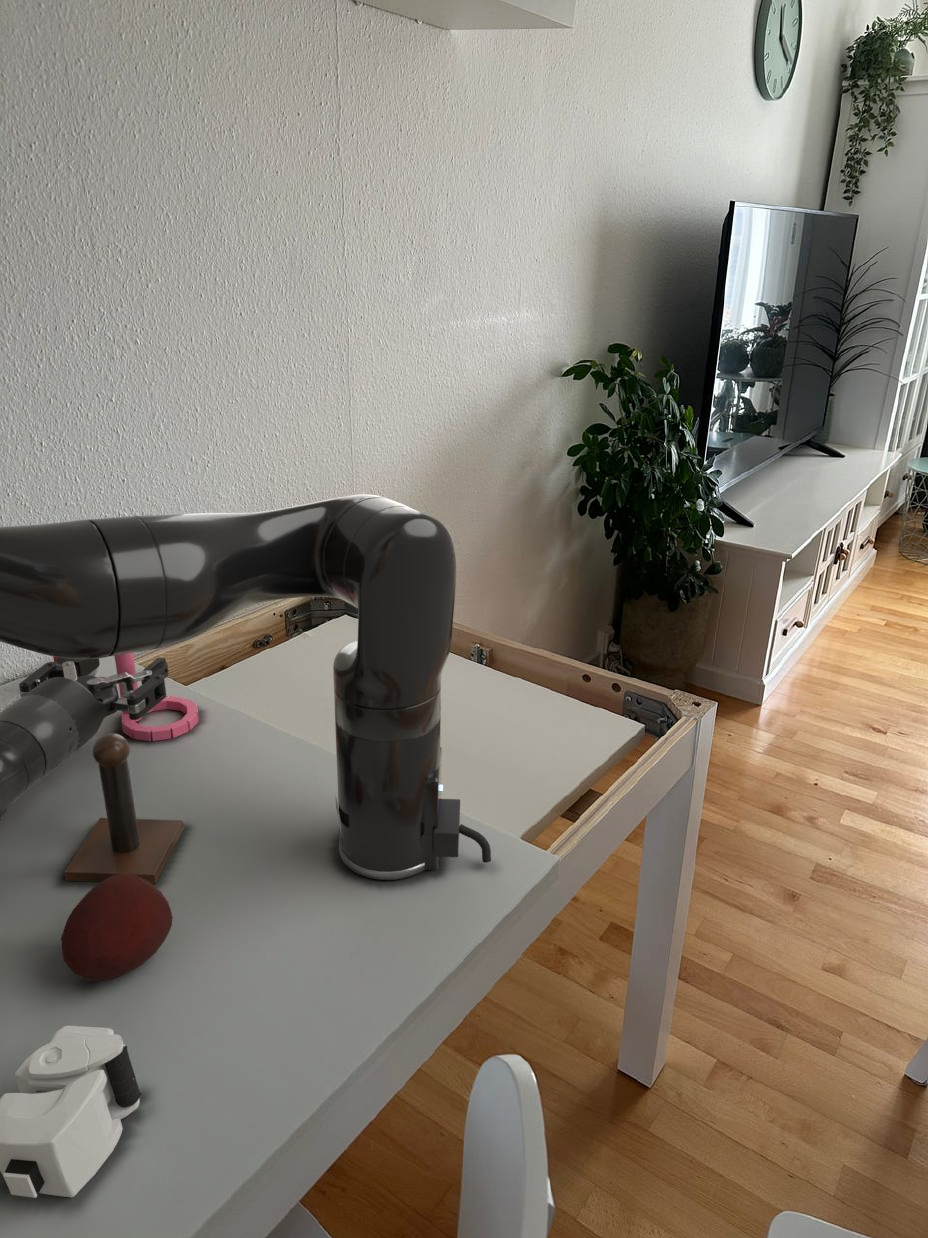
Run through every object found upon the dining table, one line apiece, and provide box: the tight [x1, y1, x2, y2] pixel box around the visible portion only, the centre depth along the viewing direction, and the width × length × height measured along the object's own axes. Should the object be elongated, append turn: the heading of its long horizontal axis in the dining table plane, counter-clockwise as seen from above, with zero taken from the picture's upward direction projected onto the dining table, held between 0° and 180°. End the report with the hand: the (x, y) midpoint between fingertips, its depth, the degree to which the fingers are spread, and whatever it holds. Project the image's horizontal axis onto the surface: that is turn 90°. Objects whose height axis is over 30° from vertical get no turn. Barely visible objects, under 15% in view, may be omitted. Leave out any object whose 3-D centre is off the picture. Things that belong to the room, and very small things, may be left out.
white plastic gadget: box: [0, 1025, 142, 1199], centre depth 55 cm, size 6×7×10 cm
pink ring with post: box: [114, 652, 200, 742], centre depth 102 cm, size 9×8×11 cm
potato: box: [60, 874, 173, 982], centre depth 69 cm, size 7×8×7 cm
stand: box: [63, 732, 185, 885], centre depth 80 cm, size 8×8×12 cm
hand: (129, 661), depth 103 cm, fingers open, 8 cm apart
